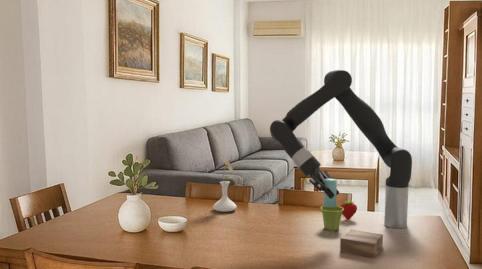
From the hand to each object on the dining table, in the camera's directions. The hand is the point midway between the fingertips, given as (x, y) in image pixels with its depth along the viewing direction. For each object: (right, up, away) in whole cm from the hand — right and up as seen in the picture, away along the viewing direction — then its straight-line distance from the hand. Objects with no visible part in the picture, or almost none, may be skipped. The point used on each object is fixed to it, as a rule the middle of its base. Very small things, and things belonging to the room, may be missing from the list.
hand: (335, 195), depth 175 cm
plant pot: (+2, -16, +18) cm, 24 cm away
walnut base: (+8, -19, -7) cm, 22 cm away
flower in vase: (-43, -13, +47) cm, 65 cm away
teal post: (-2, -4, +1) cm, 5 cm away
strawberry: (+12, -15, +31) cm, 36 cm away
